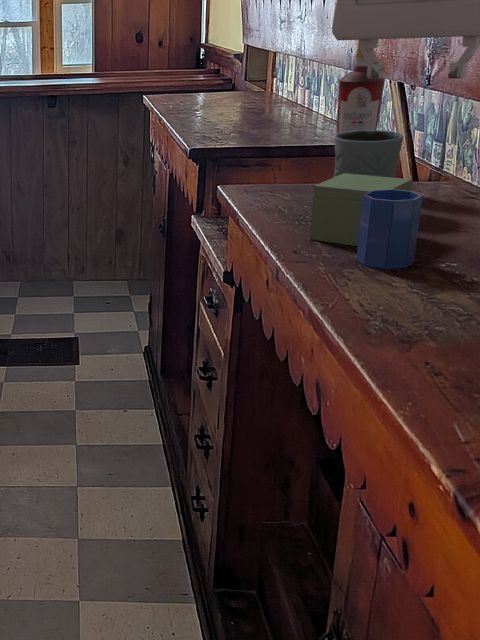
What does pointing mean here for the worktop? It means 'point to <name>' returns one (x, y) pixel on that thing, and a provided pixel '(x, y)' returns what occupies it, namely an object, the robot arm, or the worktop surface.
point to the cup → (389, 228)
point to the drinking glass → (367, 152)
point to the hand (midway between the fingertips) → (414, 78)
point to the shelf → (345, 205)
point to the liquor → (359, 98)
